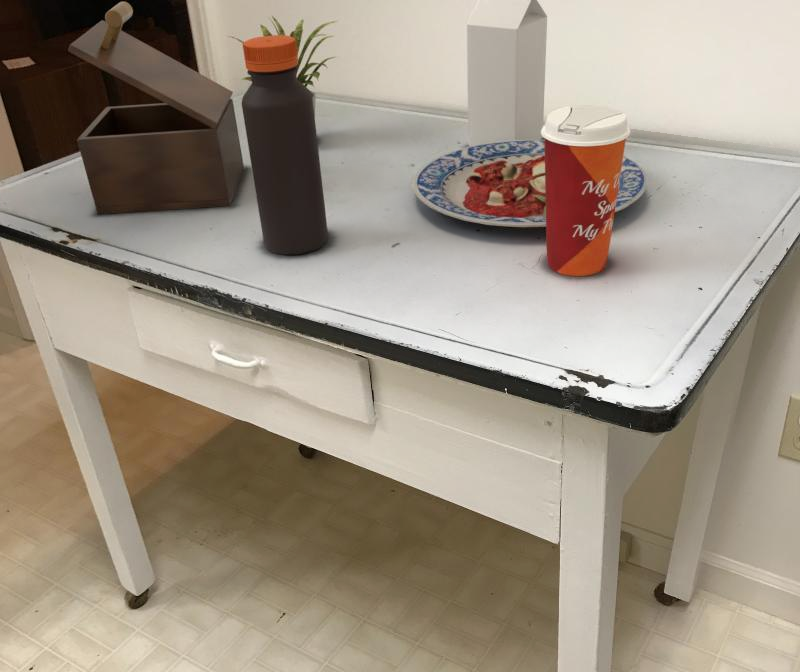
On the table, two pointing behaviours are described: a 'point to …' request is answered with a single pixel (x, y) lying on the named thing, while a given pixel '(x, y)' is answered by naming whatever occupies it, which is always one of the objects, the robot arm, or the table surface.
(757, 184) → the table surface
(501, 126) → the milk carton
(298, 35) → the house plant
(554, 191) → the paper cup
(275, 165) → the bottle
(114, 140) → the chest
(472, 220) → the ceramic plate
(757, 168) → the table surface
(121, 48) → the lid
